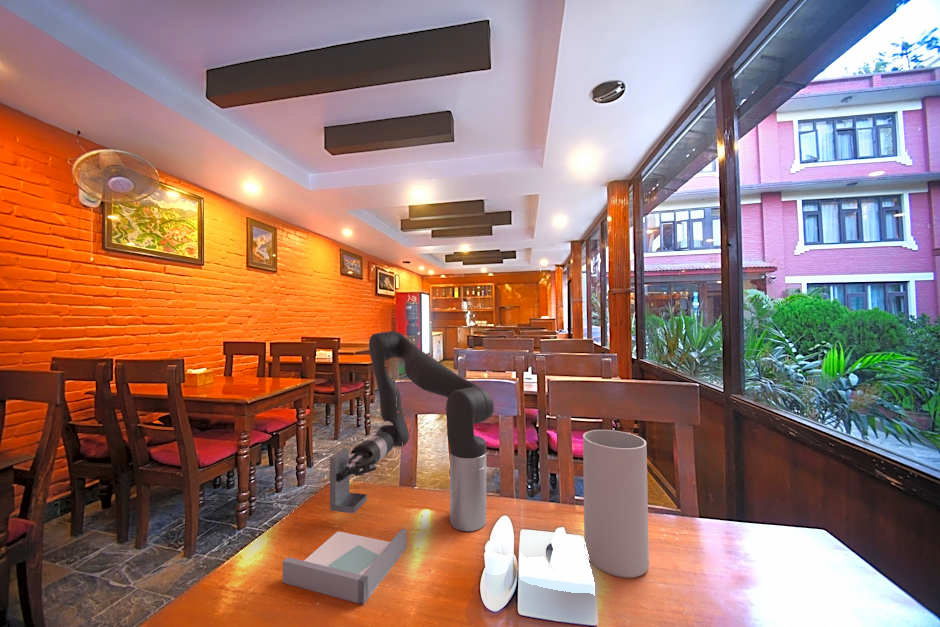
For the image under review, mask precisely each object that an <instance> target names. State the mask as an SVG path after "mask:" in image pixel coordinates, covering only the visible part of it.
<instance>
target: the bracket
mask: <svg viewBox="0 0 940 627" xmlns="http://www.w3.org/2000/svg"><path fill="white" fill-rule="evenodd" d="M349 455H350V448H347V447H343V448H342V449H340V450H338V451H337V452H336V453H334V454H332V455H331V456H329V512H330V511H331V512H339V513H346V514H347V513H349V514H355V513H356V512H358V511H359V509H360V508H361V507H362V506H363V505H364V504H365V503H366V502H367V500H368V499H367V497H368V494H365V493H357V492H350V476H348V477H347V478H345V479H344V480H342V481H341V482H338V473H339V472H340V471H342V470H343V469H344V468H346V467H347V466H348V465H349Z"/></svg>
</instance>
